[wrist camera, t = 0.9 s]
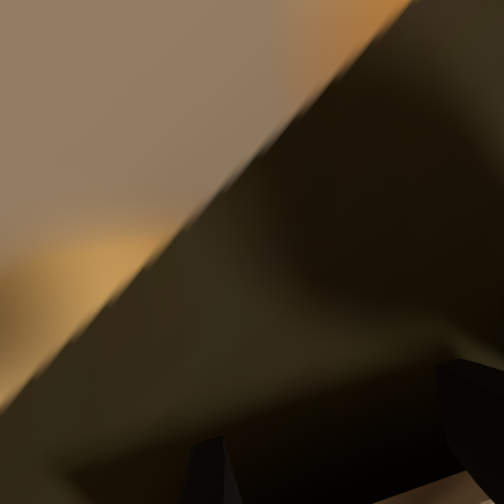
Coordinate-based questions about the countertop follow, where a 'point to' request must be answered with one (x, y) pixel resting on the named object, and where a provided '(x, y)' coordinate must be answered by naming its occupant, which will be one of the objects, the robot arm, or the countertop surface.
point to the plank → (444, 492)
